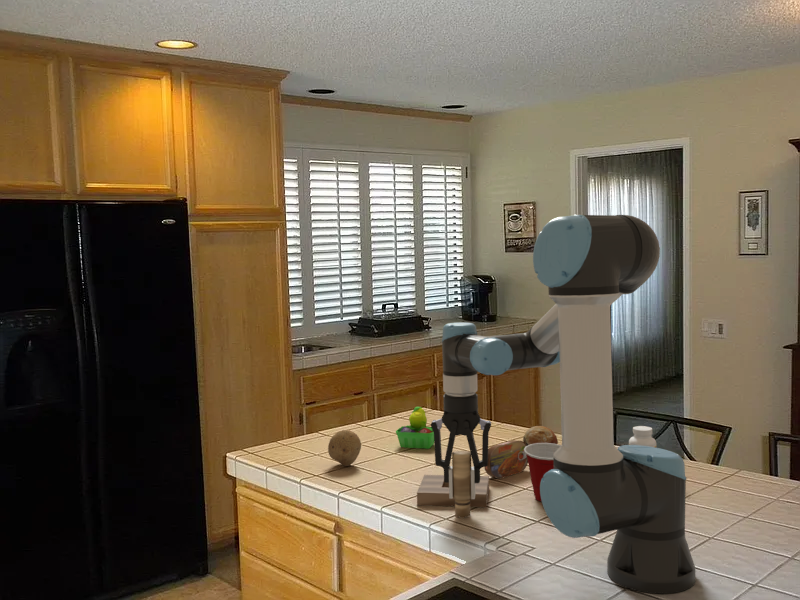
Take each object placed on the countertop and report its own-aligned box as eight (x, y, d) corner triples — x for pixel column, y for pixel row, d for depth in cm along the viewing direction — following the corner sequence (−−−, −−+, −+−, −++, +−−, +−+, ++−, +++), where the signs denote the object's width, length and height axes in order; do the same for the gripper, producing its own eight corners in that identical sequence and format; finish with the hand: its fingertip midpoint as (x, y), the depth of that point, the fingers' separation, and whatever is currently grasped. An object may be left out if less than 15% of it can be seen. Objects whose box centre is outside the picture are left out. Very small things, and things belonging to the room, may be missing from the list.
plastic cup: (536, 508, 178) (536, 456, 177) (517, 494, 189) (516, 445, 188) (579, 503, 181) (579, 452, 180) (558, 489, 192) (557, 441, 191)
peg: (471, 518, 173) (470, 455, 172) (452, 517, 174) (451, 455, 173) (472, 511, 177) (471, 450, 176) (454, 511, 178) (453, 450, 177)
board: (486, 507, 180) (486, 494, 180) (417, 505, 183) (416, 492, 183) (489, 488, 194) (488, 476, 194) (424, 486, 197) (424, 474, 196)
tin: (490, 481, 199) (490, 449, 199) (481, 479, 202) (481, 446, 201) (530, 469, 209) (530, 438, 208) (521, 467, 211) (521, 436, 211)
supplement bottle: (626, 480, 198) (625, 429, 197) (631, 473, 203) (631, 424, 202) (653, 483, 194) (653, 432, 194) (658, 476, 200) (658, 426, 199)
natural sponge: (346, 472, 210) (345, 436, 209) (321, 467, 215) (320, 431, 214) (368, 464, 217) (367, 429, 216) (343, 459, 222) (342, 425, 222)
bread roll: (521, 456, 235) (511, 433, 233) (547, 437, 239) (537, 415, 237) (541, 464, 226) (530, 441, 224) (567, 445, 230) (557, 422, 228)
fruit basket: (395, 448, 234) (394, 410, 233) (403, 441, 242) (402, 404, 241) (432, 450, 230) (431, 412, 229) (439, 442, 239) (438, 406, 238)
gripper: (500, 389, 176) (501, 492, 178) (423, 389, 179) (426, 490, 180) (499, 396, 169) (500, 503, 170) (419, 396, 171) (421, 501, 173)
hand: (462, 496), depth 175 cm, fingers closed on peg, 4 cm apart
